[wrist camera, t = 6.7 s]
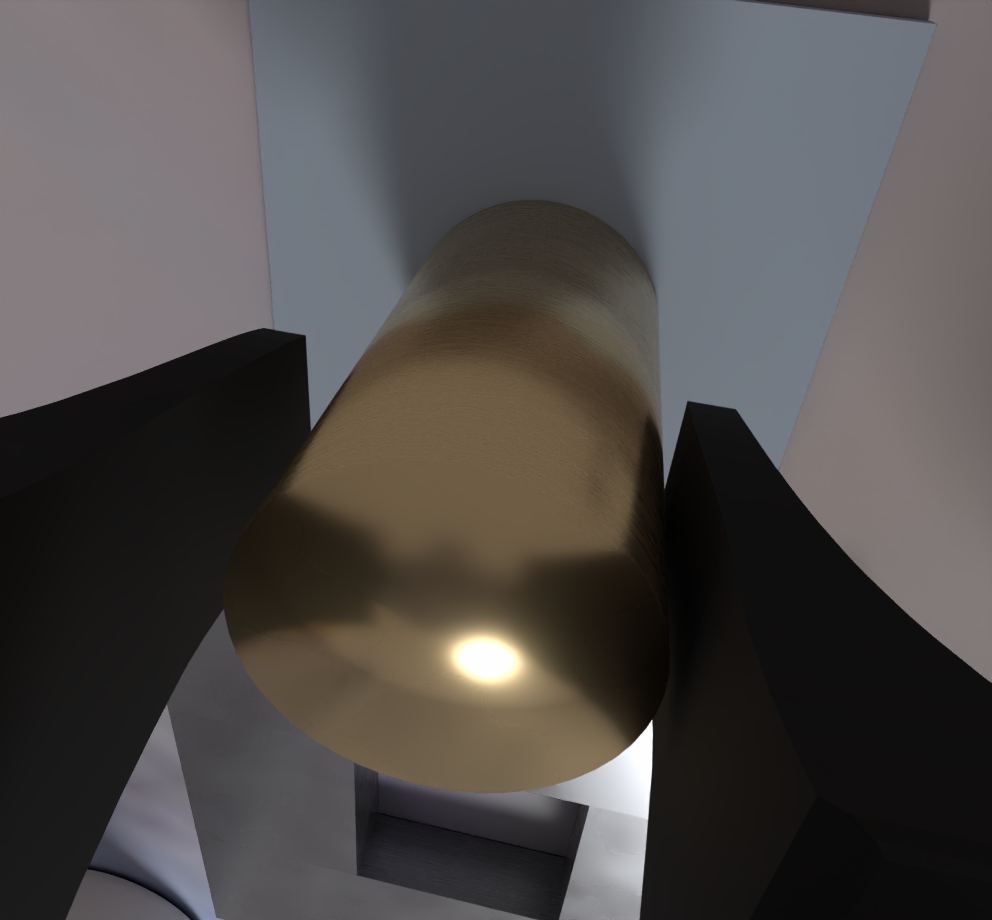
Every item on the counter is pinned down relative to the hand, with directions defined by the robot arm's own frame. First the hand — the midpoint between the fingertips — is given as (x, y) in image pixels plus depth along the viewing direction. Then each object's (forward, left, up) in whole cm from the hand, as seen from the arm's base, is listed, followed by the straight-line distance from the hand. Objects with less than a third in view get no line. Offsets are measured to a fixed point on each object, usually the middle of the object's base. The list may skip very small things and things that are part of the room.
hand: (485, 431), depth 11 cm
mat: (0, 0, -5) cm, 5 cm away
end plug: (0, 0, -4) cm, 4 cm away
